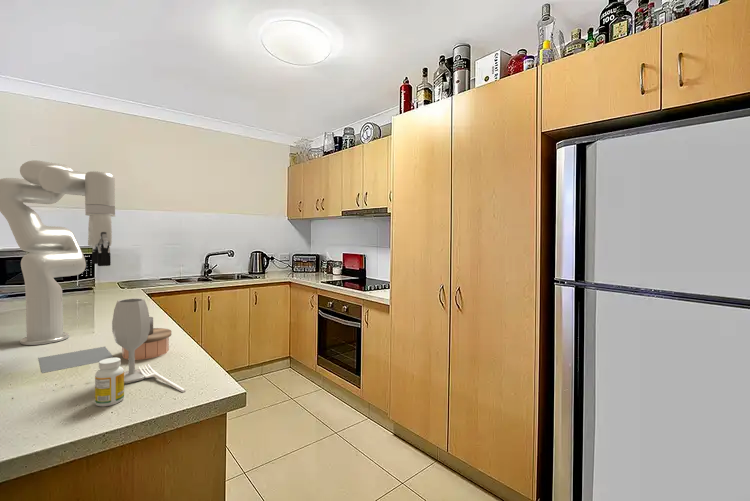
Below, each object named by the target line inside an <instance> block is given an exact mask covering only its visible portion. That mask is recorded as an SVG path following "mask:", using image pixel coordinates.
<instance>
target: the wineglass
mask: <svg viewBox="0 0 750 501" xmlns="http://www.w3.org/2000/svg"><path fill="white" fill-rule="evenodd" d="M112 315H113V316H112V322H111V326H112V327H111V329H112V330H111V331H112V336H113V338H114V341H115V343H116V344H117V345H118V346H120V347H121V348H122V347H123V348H124V349H126V350H128V351H129V359H128V370H127V371H126V370H125V371H124V385H125V384H127V385H128V384H130V383H135V382H139V381H143V380H145V379H146V378H145V376H144V375H142V374H141V371H140V369H137V368H136V360H135V350H136V349H137V348H138V347H139V346H140V345H142V344H143V343H144V342H145V341H146V340H147V338H148V335H149V331H150V317H151V316H150V313H149V307H148V305H147V303H146V300H145V298H142V297H141V298H140V297H139V298H137V297H133V298H123V299H120V300H119V299H118V300H117V301H116V304H115V306H114V308H113V314H112ZM141 369H142V370H143V368H141ZM145 370H146V371H147V369H146V368H145ZM143 372H144V373H145V371H144V370H143ZM147 372H148V371H147ZM148 373H149V372H148ZM145 374H146V373H145ZM149 374H150V373H149ZM147 375H148V374H147Z"/></svg>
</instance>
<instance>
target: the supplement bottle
mask: <svg viewBox="0 0 750 501" xmlns="http://www.w3.org/2000/svg"><path fill="white" fill-rule="evenodd" d="M121 364H122V360H121V358H120V357H114V358H107V359H104V360H101V361H100V362H98V369H99V370H97V371H96V373H95V375H94V396H95V397H94V398H95V399H94V404H95V405H96V406H97V407H109V406H113V405H114V406H115V405H116V404H118V403H120V402H122V401H123V400H124V398H125V384H124V372H125V369H124V368H123V367H122V366H121Z"/></svg>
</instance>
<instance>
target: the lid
mask: <svg viewBox="0 0 750 501" xmlns="http://www.w3.org/2000/svg"><path fill="white" fill-rule="evenodd" d="M149 317H150V331H149V335H148V338H147V340H146V341H145V342H144V343H149V342H155V341H159V340H163V339H166V338H168V337H169V338H170V337H171V336H172V330H171V329H169V328H162V327H159V328H158V327H156V328H154V317H153V316H149Z"/></svg>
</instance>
